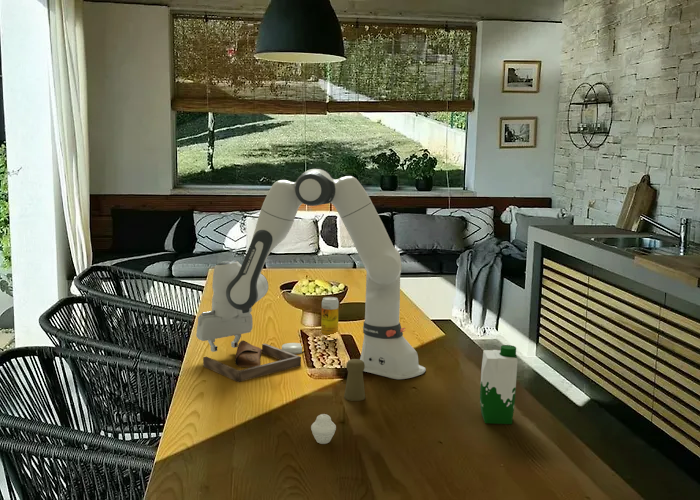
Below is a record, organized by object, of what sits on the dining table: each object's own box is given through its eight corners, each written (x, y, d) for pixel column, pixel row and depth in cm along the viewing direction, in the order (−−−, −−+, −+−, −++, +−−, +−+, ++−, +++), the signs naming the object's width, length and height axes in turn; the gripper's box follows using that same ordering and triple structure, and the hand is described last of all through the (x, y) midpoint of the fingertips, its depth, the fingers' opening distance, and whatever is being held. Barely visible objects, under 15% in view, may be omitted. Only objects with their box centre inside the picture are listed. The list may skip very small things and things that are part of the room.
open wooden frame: (300, 365, 241) (300, 356, 241) (238, 381, 225) (238, 372, 224) (264, 352, 255) (265, 343, 254) (203, 366, 238) (203, 357, 238)
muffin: (315, 448, 180) (316, 420, 179) (307, 438, 186) (307, 411, 185) (339, 444, 183) (340, 416, 181) (330, 434, 188) (330, 408, 187)
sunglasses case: (262, 365, 239) (251, 348, 238) (242, 376, 239) (232, 358, 238) (262, 349, 256) (253, 332, 255) (244, 359, 256) (235, 342, 255)
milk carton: (516, 425, 197) (520, 352, 194) (481, 424, 197) (485, 351, 194) (510, 413, 205) (514, 342, 202) (476, 412, 206) (480, 341, 202)
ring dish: (309, 350, 258) (310, 346, 257) (291, 355, 252) (291, 350, 252) (295, 345, 263) (295, 341, 263) (277, 349, 258) (277, 345, 258)
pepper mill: (350, 402, 211) (351, 364, 209) (340, 395, 216) (341, 358, 214) (369, 399, 213) (370, 361, 212) (359, 392, 219) (360, 355, 217)
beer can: (318, 339, 271) (319, 299, 269) (325, 335, 277) (326, 295, 274) (333, 341, 269) (334, 301, 267) (340, 337, 275) (341, 297, 272)
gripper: (203, 315, 238) (202, 357, 241) (255, 306, 252) (254, 346, 255) (192, 310, 243) (192, 352, 245) (244, 302, 257) (243, 341, 259)
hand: (224, 349), depth 250 cm, fingers open, 7 cm apart
